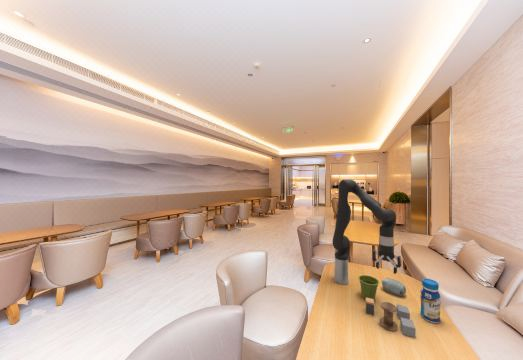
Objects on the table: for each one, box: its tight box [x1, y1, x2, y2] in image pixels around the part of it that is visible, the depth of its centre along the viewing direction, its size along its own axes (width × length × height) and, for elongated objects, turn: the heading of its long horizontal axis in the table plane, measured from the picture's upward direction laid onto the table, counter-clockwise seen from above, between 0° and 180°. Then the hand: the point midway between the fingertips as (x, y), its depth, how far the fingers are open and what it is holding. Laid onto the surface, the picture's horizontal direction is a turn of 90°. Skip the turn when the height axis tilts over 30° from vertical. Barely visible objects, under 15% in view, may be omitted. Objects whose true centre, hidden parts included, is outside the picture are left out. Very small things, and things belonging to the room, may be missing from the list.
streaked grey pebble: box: [381, 277, 407, 297], centre depth 130 cm, size 14×10×10 cm
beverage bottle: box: [419, 278, 442, 324], centre depth 106 cm, size 8×8×20 cm
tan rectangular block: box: [365, 297, 375, 316], centre depth 111 cm, size 4×4×7 cm
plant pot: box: [358, 274, 380, 300], centre depth 125 cm, size 12×12×11 cm
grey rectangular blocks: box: [395, 304, 416, 339], centre depth 102 cm, size 5×18×4 cm, turn 154°
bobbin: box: [378, 301, 399, 332], centre depth 101 cm, size 8×8×10 cm
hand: (386, 270), depth 115 cm, fingers open, 8 cm apart
